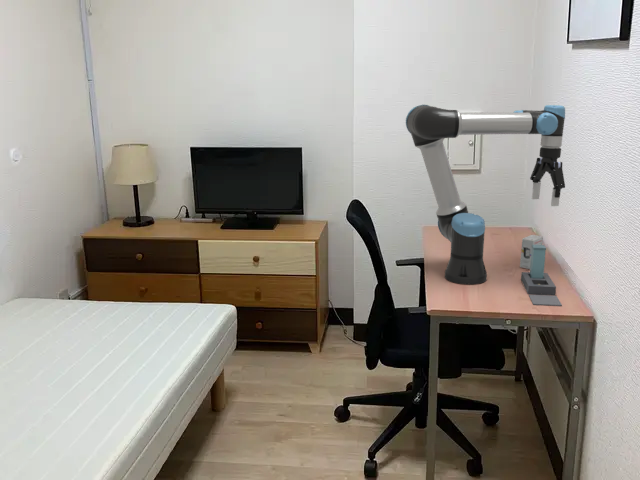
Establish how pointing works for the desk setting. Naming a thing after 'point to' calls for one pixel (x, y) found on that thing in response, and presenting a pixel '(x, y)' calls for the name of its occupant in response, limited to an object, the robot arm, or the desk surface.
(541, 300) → the pad
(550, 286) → the header
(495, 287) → the desk surface
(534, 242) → the ink box
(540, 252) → the plug
